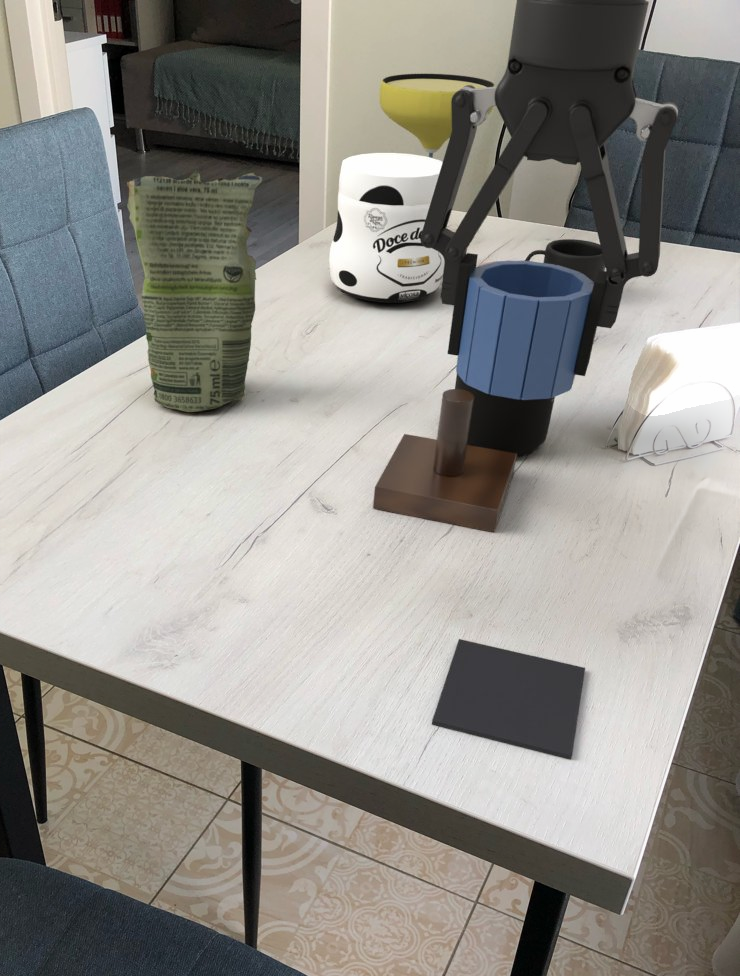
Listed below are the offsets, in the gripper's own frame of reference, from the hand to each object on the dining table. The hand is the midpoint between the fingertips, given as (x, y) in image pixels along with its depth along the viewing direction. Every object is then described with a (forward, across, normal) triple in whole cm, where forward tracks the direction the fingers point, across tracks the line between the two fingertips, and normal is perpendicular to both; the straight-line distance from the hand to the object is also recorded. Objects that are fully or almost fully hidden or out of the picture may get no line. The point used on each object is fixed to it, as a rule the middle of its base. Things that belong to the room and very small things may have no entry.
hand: (517, 357), depth 68 cm
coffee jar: (+22, -4, +30) cm, 37 cm away
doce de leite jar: (+22, -28, +72) cm, 80 cm away
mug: (+22, -4, +81) cm, 84 cm away
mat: (+22, +5, -12) cm, 25 cm away
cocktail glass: (+22, -29, +97) cm, 103 cm away
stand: (+22, -6, +17) cm, 28 cm away
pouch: (+22, -39, +28) cm, 52 cm away
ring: (+1, 0, 0) cm, 1 cm away
